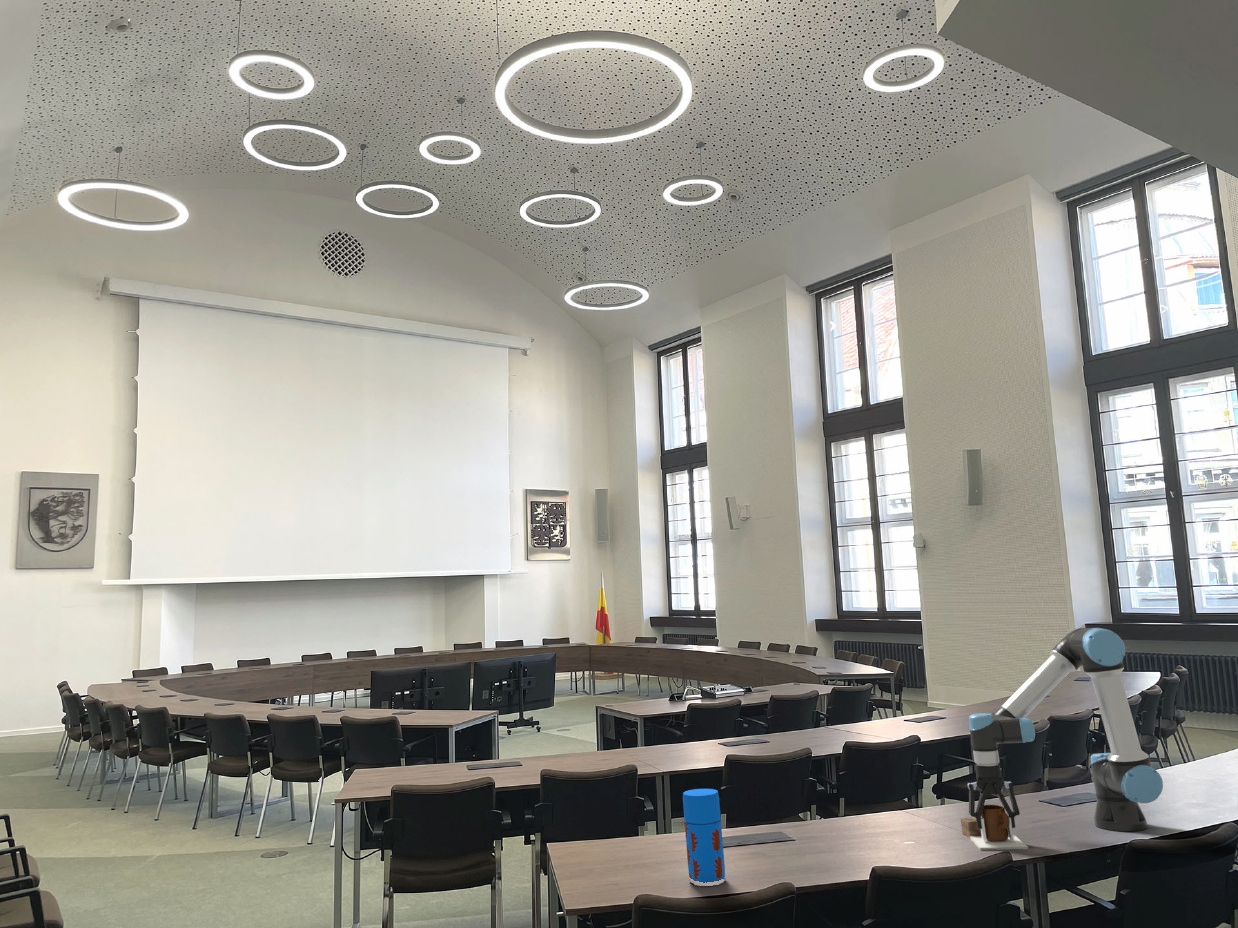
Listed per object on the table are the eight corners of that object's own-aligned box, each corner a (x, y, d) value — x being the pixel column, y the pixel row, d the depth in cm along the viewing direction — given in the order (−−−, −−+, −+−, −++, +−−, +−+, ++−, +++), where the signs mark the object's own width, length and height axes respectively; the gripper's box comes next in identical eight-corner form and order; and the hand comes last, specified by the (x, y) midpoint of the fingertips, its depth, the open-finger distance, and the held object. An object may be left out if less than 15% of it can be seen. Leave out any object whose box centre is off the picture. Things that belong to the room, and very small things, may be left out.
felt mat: (1015, 837, 271) (1015, 835, 271) (1028, 849, 258) (1028, 846, 258) (970, 838, 273) (969, 836, 274) (980, 850, 260) (980, 847, 260)
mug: (1022, 843, 260) (1018, 811, 262) (1000, 845, 259) (995, 813, 261) (1000, 834, 272) (995, 803, 274) (978, 836, 271) (974, 805, 273)
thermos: (723, 874, 253) (715, 787, 258) (728, 885, 243) (721, 794, 247) (687, 877, 253) (680, 790, 257) (691, 888, 242) (684, 797, 247)
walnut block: (976, 833, 280) (974, 817, 281) (984, 836, 275) (982, 820, 276) (962, 834, 279) (960, 818, 280) (970, 838, 274) (967, 821, 275)
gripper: (1017, 760, 272) (1028, 835, 268) (951, 762, 275) (961, 836, 271) (1024, 764, 265) (1035, 841, 261) (956, 766, 268) (967, 842, 264)
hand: (997, 838), depth 266 cm, fingers closed on mug, 7 cm apart
